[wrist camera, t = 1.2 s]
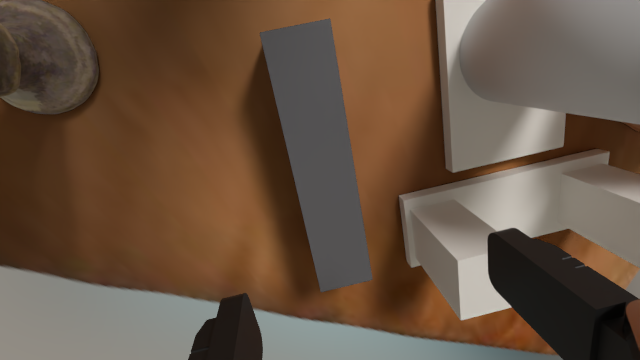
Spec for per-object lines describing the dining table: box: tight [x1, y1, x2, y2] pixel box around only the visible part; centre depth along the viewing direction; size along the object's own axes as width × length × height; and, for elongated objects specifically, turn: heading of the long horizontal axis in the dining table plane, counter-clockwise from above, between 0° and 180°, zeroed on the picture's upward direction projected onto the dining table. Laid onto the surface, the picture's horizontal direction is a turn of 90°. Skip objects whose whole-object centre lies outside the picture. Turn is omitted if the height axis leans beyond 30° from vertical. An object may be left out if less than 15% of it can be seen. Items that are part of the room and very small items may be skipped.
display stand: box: [399, 0, 640, 320], centre depth 18 cm, size 22×19×19 cm
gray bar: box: [260, 19, 372, 292], centre depth 24 cm, size 18×4×6 cm, turn 11°
